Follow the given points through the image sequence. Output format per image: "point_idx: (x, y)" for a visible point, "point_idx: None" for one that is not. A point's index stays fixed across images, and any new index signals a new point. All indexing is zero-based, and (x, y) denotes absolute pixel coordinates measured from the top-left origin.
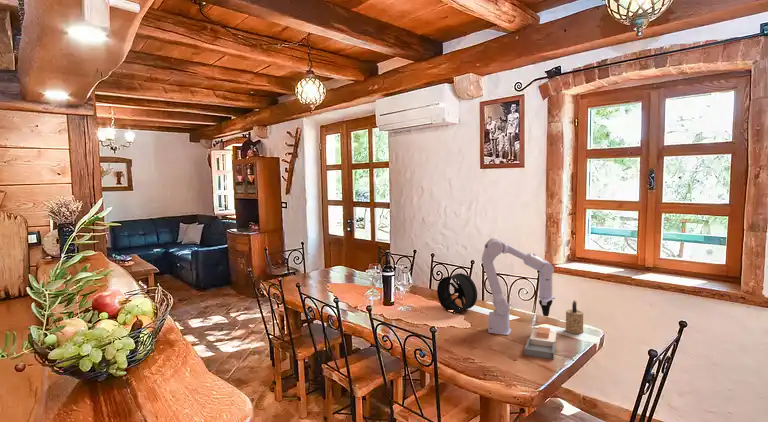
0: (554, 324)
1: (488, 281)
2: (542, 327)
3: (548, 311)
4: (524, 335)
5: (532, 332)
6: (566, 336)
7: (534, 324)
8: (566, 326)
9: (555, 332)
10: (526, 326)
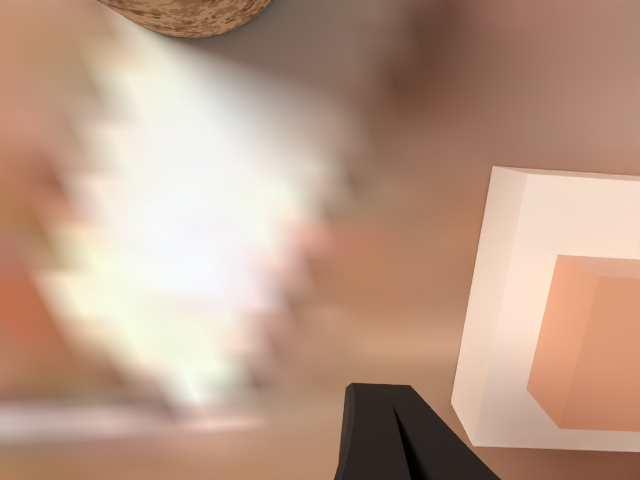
0: (33, 193)
1: None
2: (585, 379)
3: (483, 477)
4: (501, 469)
5: (589, 444)
6: (429, 39)
7: (142, 408)
8: (214, 17)
9: (548, 187)
10: (240, 474)
